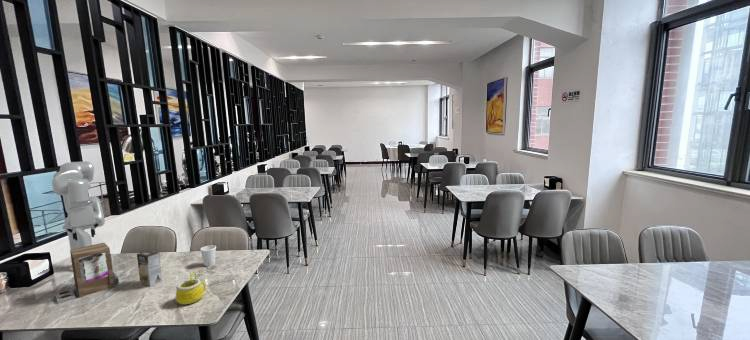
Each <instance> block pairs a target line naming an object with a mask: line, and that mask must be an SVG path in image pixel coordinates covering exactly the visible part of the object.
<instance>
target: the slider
mask: <svg viewBox="0 0 750 340" xmlns="http://www.w3.org/2000/svg"><path fill="white" fill-rule="evenodd" d="M110 256H111V257H112V254H111V253H110ZM111 263H113V262H112V261H111ZM112 271H113V268H112ZM113 278H114V286H115V285H117V284H120V282H119V277H118V276H117V274H116V273H115V272H114V271H113ZM73 285H74V291H75V293H76V295H77V296H79V292H78V285H77V284H75V283H74V284H73Z"/></svg>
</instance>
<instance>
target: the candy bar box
mask: <svg viewBox="0 0 750 340" xmlns="http://www.w3.org/2000/svg"><path fill="white" fill-rule="evenodd" d="M79 264H80V271H81V278H82V283H85V282H89V281H92V280H96V279H99V278H103V277H107V276H108V269H107V262H106V254H105V253H98V254H94V255H91V256H88V257H85V258H83V259H80V260H79Z"/></svg>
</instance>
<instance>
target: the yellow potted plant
mask: <svg viewBox="0 0 750 340" xmlns="http://www.w3.org/2000/svg"><path fill="white" fill-rule="evenodd" d="M201 272H202V271H201V269H200V270H198V274H197V273H196V271H194V270H193V271H192V272H191V273H190V278H189V279H186V280H184V281H181V282H180V283H179V284H177V285H176V290H175V301H176V303H178V304H180V305H189V304H193V303H196V302H198V301H199V300H201V299H202V298H203V296H204V293H205V291H206V289H207V287H206V283H205V282H204V281H201V280H200V279H199V277H200V276H199V275H200V273H201ZM202 284H203V286H202Z"/></svg>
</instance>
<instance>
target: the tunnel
mask: <svg viewBox="0 0 750 340" xmlns="http://www.w3.org/2000/svg"><path fill="white" fill-rule="evenodd" d="M98 253H105V254H106V262H107V269H108V276H107V277H103V278H99V279H96V280H92V281H89V282H85V283H82V278H81V271H80V264H79V258H81V257H85V256H90V255H94V254H98ZM110 254H111V250H110V246H109V245H107V244H106V243H105V242H101V243H96V244H92V245H91V246H86V247H81V248H77V249H72V250H71V249H69V255H70V259H71V266H72V268H73V271H72V274H73V280H74V284H77V285H78V292H79V295H78V298H83V297H85V296H89V295H91V294H95V293H99V292H101V291H105V290H108V289H113V288H115V285H114V278H113V272H114V271H113V270H112V269H113V264H112V263H113V262H112V255H111V256H110ZM111 262H112V263H111Z"/></svg>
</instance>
